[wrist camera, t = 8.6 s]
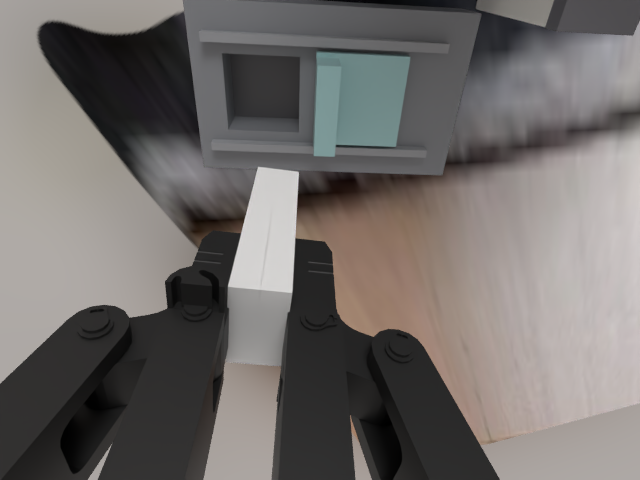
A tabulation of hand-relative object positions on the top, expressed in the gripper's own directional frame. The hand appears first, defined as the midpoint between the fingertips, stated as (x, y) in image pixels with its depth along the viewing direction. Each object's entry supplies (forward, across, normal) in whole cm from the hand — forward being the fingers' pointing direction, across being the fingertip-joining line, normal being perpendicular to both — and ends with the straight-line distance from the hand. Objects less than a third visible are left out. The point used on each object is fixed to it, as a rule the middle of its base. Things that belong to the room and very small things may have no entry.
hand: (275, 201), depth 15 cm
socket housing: (+21, +3, 0) cm, 21 cm away
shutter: (+17, +5, 0) cm, 18 cm away
